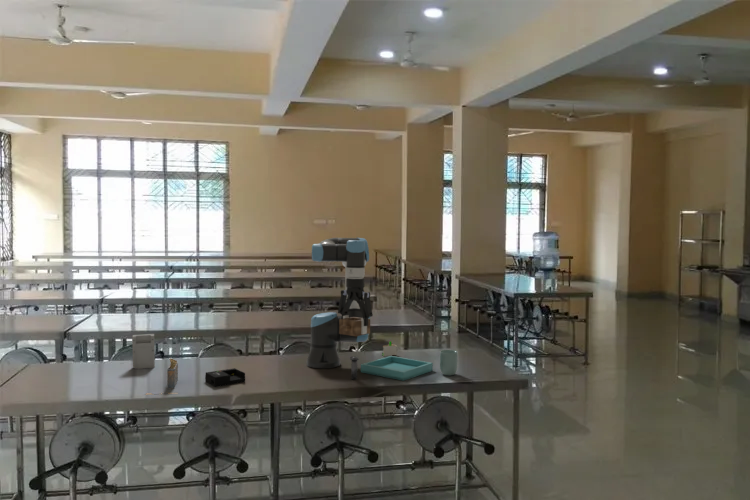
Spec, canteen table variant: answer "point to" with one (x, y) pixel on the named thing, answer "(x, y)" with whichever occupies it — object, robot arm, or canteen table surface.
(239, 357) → the canteen table surface
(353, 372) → the stake
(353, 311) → the robot arm
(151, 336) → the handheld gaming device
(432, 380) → the canteen table surface
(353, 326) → the wooden box
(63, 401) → the canteen table surface
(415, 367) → the tray
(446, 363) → the cup
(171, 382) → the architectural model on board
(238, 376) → the battery charger
